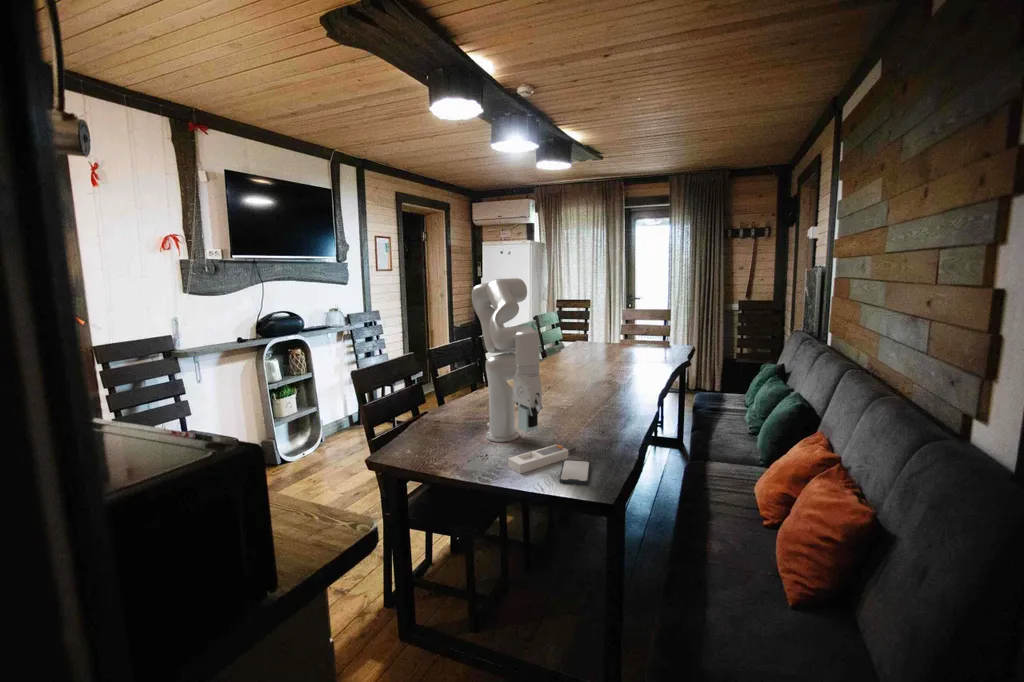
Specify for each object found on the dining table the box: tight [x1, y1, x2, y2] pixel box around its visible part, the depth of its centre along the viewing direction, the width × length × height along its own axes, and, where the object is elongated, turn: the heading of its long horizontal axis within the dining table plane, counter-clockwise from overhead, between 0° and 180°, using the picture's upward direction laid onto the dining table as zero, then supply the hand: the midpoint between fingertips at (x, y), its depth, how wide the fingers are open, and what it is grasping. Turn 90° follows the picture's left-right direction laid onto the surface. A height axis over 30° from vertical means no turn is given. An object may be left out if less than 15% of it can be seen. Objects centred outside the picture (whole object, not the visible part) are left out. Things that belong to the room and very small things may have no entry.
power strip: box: [507, 444, 577, 474], centre depth 166 cm, size 6×26×4 cm, turn 124°
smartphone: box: [559, 459, 591, 486], centre depth 156 cm, size 9×2×16 cm
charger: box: [517, 405, 539, 434], centre depth 161 cm, size 4×4×8 cm
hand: (528, 423), depth 161 cm, fingers closed on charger, 4 cm apart
